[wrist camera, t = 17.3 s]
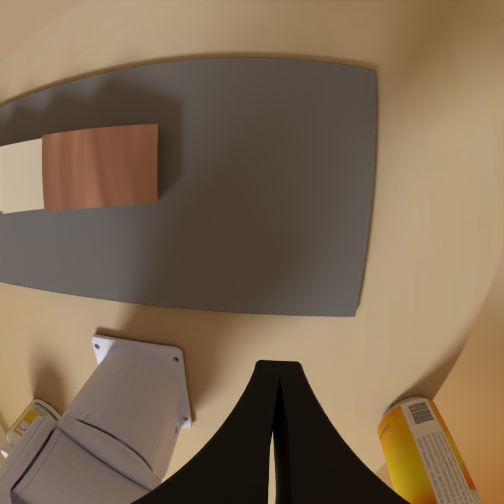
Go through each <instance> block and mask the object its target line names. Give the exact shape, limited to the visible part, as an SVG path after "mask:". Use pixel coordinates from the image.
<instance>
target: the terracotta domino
mask: <svg viewBox="0 0 504 504" xmlns="http://www.w3.org/2000/svg"><path fill="white" fill-rule="evenodd" d="M157 151H158V124H146V125H128V126H114V127H102V128H92V129H83V130H75V131H68V132H60V133H54V134H47V135H42V184H43V201H44V212H54V211H64V210H75V209H86V208H98V207H111V206H126V205H142V204H158V188H157Z"/></svg>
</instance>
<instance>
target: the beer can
mask: <svg viewBox="0 0 504 504" xmlns="http://www.w3.org/2000/svg"><path fill="white" fill-rule="evenodd" d="M377 431H378V435H379V439H380V442H381V445H382V449H383V452H384V455H385V459H386V462H387V466H388V469H389V473H390V476H391V480H392V484H393V487H394V491H395V492H396V493H397V494H399V495H400V496H401V497H402V498H404V499H405V500H407V501H408V502H409V503H411V504H482V503H481V500H480V498H479V495H478V493H477V491H476V488H475V486H474V483H473V481H472V479H471V477H470V475H469V472H468V470H467V468H466V465H465V463H464V461H463V459H462V457H461V455H460V453H459V450H458V448H457V446H456V444H455V443H454V440H453V438H452V436H451V434H450V432H449V430H448V428H447V426H446V424H445V422H444V420H443V419H442V417H441V415H440V413H439V411H438V409H437V407H436V405H435V404H434V402H433V401H432V400H430V399H425V398H422V397H411V398H407V399H405V400H402V401H400V402H398V403H397V404H395V405H394V406H392V407H391V408H390V409H389V410H388V411H387V412H386V413H385V414H384V415H383V417H382V419H381V422H380V424H379V426H378V430H377Z"/></svg>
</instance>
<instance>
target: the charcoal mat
mask: <svg viewBox="0 0 504 504" xmlns="http://www.w3.org/2000/svg"><path fill="white" fill-rule="evenodd" d="M146 124H158V151H157V188H158V204H142V205H126V206H111V207H98V208H86V209H75V210H64V211H54V212H44V209H37V210H29V211H21V212H13V213H5V214H3V212H2V211H0V282H2V283H7V284H12V285H17V286H23V287H28V288H33V289H39V290H45V291H51V292H57V293H63V294H69V295H76V296H82V297H89V298H96V299H104V300H111V301H119V302H127V303H136V304H144V305H153V306H163V307H173V308H184V309H195V310H207V311H221V312H235V313H251V314H271V315H295V316H336V317H355V314H356V309H357V304H358V299H359V293H360V288H361V282H362V276H363V269H364V263H365V256H366V249H367V242H368V234H369V226H370V217H371V207H372V197H373V185H374V171H375V153H376V124H377V87H376V70H373V69H368V68H362V67H357V66H350V65H344V64H337V63H329V62H320V61H310V60H299V59H283V58H210V59H195V60H184V61H174V62H165V63H157V64H150V65H144V66H138V67H132V68H126V69H121V70H116V71H111V72H106V73H102V74H98V75H93V76H89V77H85V78H81V79H78V80H74V81H70V82H67V83H64V84H60V85H57V86H54V87H51V88H48V89H45V90H42V91H39V92H36V93H33V94H30V95H28V96H25V97H22V98H20V99H17V100H15V101H12V102H10V103H7V104H5V105H3V106H0V147H1V146H5V145H10V144H15V143H20V142H25V141H30V140H35V139H41V138H42V135H47V134H54V133H60V132H68V131H75V130H83V129H92V128H102V127H114V126H128V125H146Z"/></svg>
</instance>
